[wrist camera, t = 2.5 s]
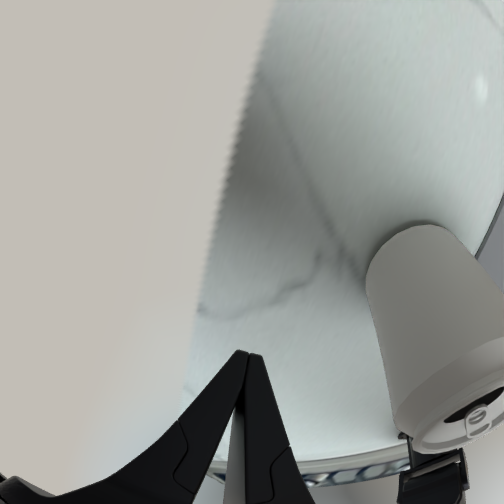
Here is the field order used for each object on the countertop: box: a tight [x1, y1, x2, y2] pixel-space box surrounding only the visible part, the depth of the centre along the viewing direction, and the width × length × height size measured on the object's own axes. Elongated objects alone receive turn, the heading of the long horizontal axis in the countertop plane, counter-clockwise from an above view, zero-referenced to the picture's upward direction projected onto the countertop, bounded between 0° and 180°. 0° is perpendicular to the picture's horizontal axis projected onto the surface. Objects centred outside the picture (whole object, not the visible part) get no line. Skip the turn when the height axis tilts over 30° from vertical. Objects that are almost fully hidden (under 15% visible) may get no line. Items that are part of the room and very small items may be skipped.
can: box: [366, 224, 504, 454], centre depth 12 cm, size 8×8×12 cm
